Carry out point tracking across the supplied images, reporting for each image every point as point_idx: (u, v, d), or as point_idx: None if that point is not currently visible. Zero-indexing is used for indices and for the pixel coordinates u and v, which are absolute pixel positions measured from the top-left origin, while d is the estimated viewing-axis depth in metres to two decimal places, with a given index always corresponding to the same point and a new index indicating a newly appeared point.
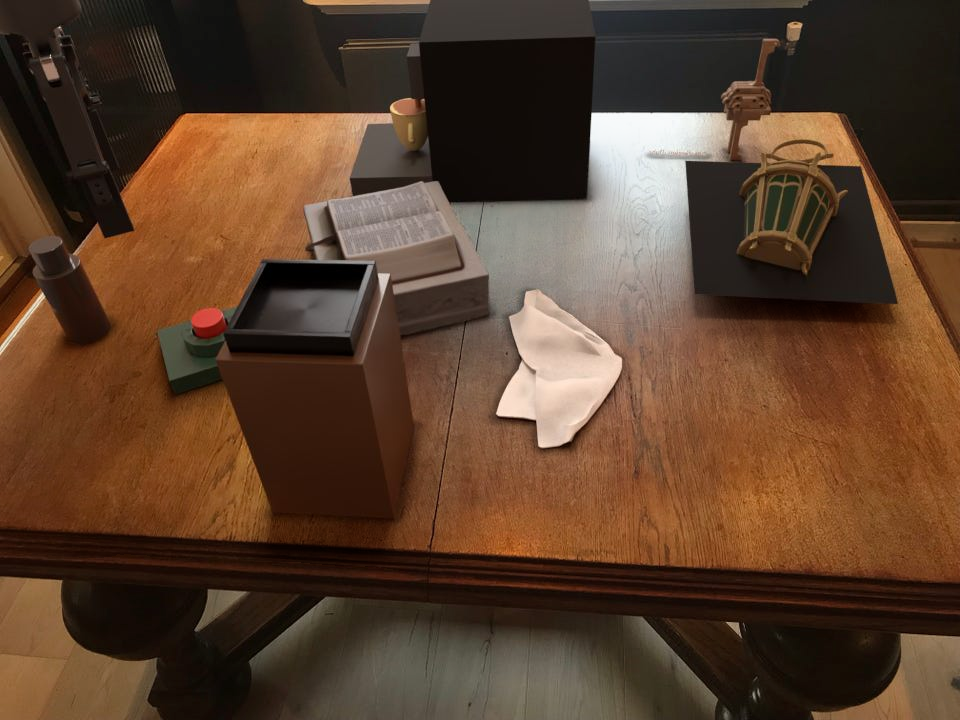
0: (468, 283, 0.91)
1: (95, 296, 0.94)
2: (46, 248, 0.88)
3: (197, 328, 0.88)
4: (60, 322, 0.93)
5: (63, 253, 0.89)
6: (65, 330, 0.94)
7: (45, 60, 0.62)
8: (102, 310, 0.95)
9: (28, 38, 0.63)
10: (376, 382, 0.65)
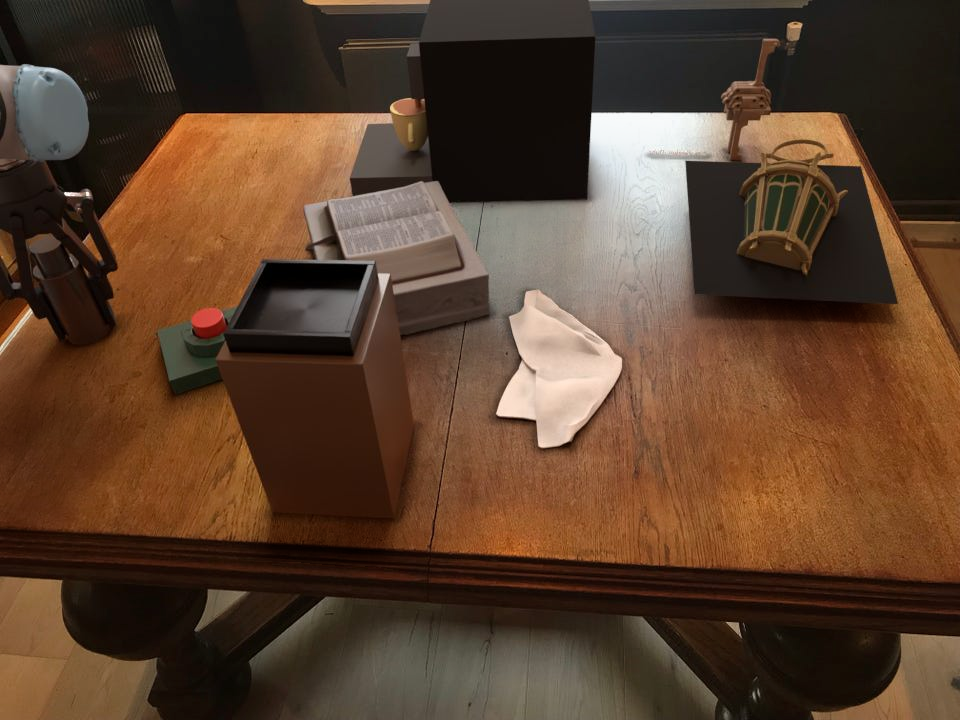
0: (468, 283, 0.91)
1: None
2: (46, 248, 0.88)
3: (197, 328, 0.88)
4: (60, 322, 0.93)
5: (63, 253, 0.89)
6: (65, 330, 0.94)
7: (91, 196, 0.87)
8: None
9: (54, 185, 0.84)
10: (376, 382, 0.65)
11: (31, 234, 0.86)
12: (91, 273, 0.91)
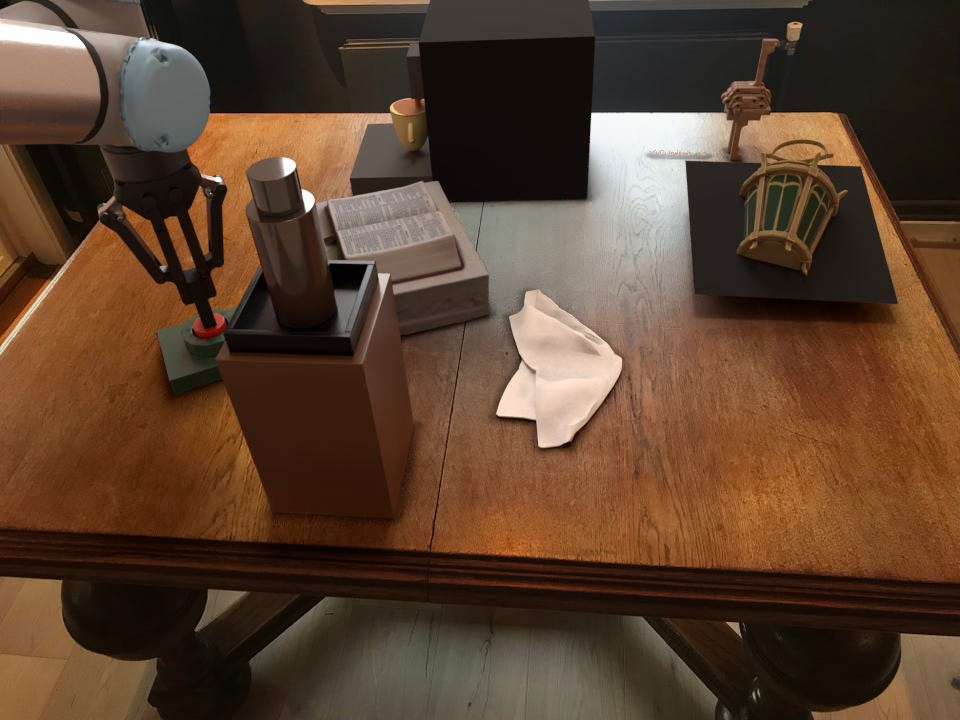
0: (468, 283, 0.91)
1: (326, 254, 0.62)
2: (275, 174, 0.55)
3: (199, 333, 0.89)
4: (275, 293, 0.61)
5: (297, 183, 0.56)
6: (280, 306, 0.62)
7: None
8: (331, 276, 0.63)
9: (190, 163, 0.77)
10: (376, 382, 0.65)
11: (162, 216, 0.79)
12: (197, 267, 0.84)
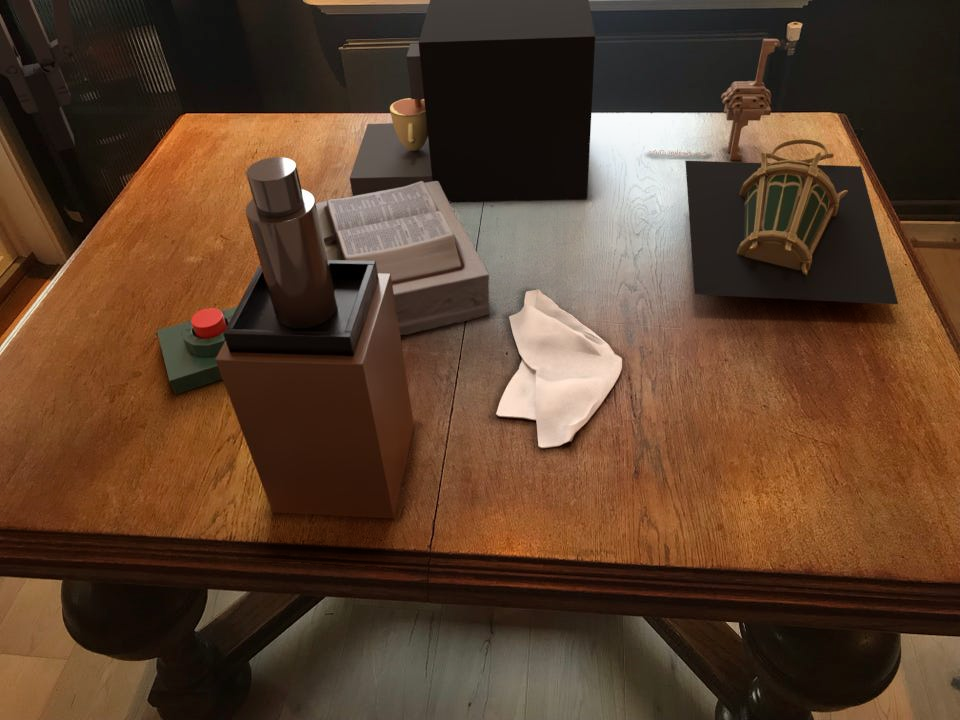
0: (468, 283, 0.91)
1: (326, 254, 0.62)
2: (275, 174, 0.55)
3: (197, 328, 0.88)
4: (275, 293, 0.61)
5: (297, 183, 0.56)
6: (280, 306, 0.62)
7: None
8: (331, 276, 0.63)
9: None
10: (376, 382, 0.65)
11: None
12: (37, 54, 0.62)
